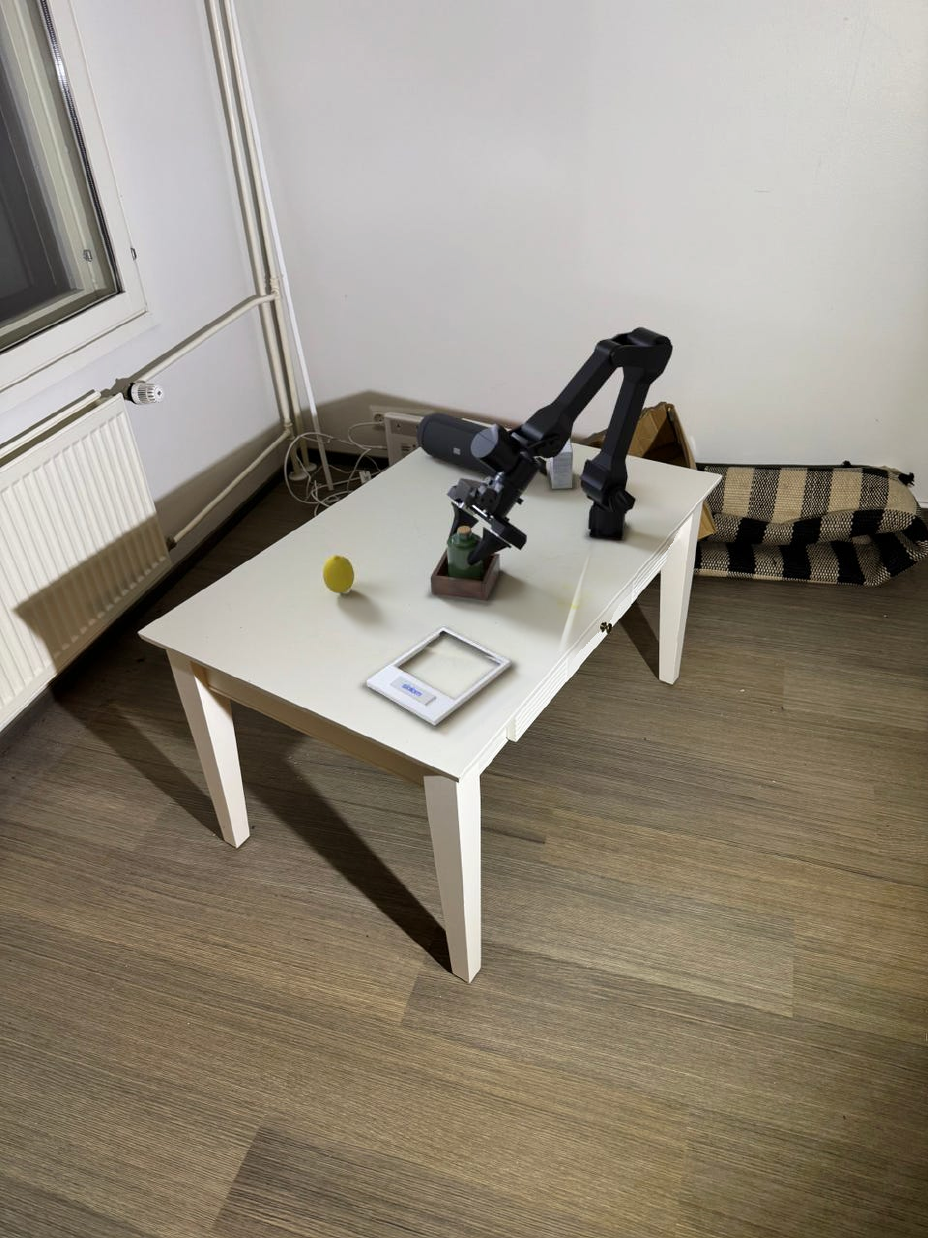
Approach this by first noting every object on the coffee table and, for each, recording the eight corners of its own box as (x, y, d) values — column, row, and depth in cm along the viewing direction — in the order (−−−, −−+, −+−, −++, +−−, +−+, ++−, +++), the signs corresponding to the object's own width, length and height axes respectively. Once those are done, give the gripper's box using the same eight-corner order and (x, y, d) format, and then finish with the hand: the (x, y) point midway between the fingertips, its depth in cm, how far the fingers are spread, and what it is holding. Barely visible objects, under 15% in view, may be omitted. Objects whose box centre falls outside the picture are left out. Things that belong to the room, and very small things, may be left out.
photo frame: (366, 680, 138) (442, 626, 148) (366, 685, 138) (443, 631, 149) (434, 720, 130) (510, 660, 140) (434, 725, 130) (510, 665, 141)
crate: (499, 571, 163) (499, 553, 161) (486, 602, 155) (485, 584, 153) (447, 565, 166) (446, 547, 163) (431, 595, 158) (430, 577, 155)
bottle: (487, 573, 162) (486, 521, 155) (478, 593, 157) (477, 540, 150) (454, 569, 163) (451, 518, 157) (444, 588, 159) (441, 536, 152)
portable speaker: (415, 459, 202) (412, 418, 196) (443, 443, 208) (441, 404, 202) (502, 489, 189) (502, 447, 183) (529, 472, 195) (530, 431, 189)
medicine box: (572, 489, 188) (573, 452, 183) (551, 489, 188) (552, 452, 183) (569, 472, 194) (570, 436, 189) (549, 472, 195) (550, 436, 189)
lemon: (351, 603, 157) (346, 565, 152) (321, 600, 158) (315, 563, 153) (360, 585, 161) (355, 548, 156) (331, 583, 162) (326, 546, 157)
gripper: (453, 442, 155) (403, 515, 157) (512, 483, 142) (456, 561, 144) (491, 471, 163) (443, 539, 165) (550, 512, 150) (497, 586, 152)
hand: (458, 555), depth 156 cm, fingers open, 7 cm apart
